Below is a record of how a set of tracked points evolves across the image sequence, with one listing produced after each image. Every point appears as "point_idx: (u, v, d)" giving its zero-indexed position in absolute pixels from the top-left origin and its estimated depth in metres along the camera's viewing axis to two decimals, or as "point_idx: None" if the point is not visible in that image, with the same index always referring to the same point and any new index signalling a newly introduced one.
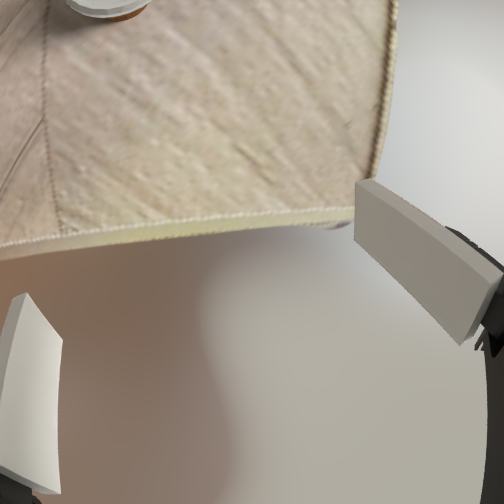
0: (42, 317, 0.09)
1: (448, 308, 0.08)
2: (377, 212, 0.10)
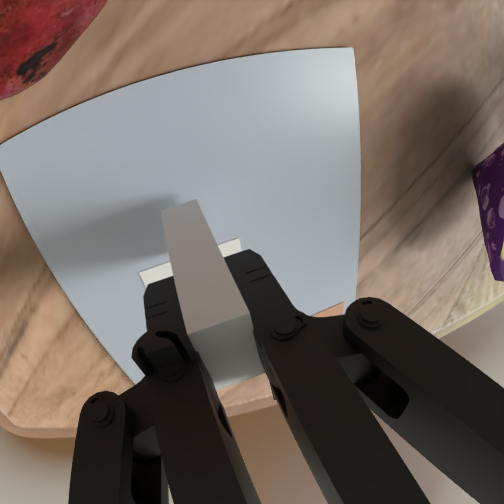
0: None
1: None
2: None
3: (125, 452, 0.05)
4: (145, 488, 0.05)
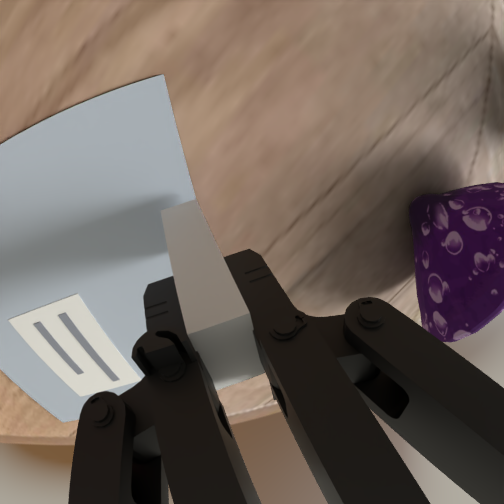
0: None
1: None
2: None
3: (125, 452, 0.05)
4: (145, 488, 0.05)
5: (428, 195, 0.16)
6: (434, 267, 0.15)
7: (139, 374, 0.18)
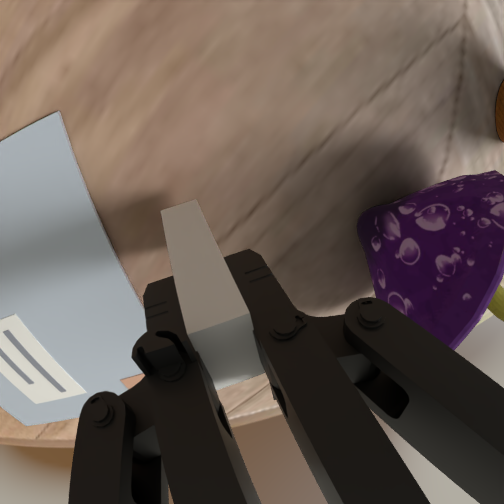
0: None
1: None
2: None
3: (125, 452, 0.05)
4: (145, 488, 0.05)
5: (376, 207, 0.16)
6: (392, 285, 0.14)
7: (83, 387, 0.17)
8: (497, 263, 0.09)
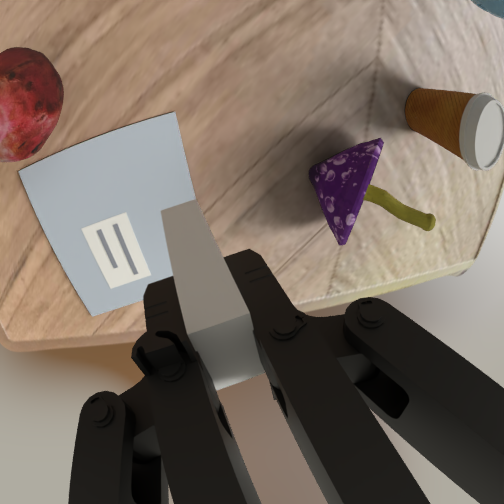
0: None
1: None
2: None
3: (125, 452, 0.05)
4: (145, 488, 0.05)
5: None
6: (325, 193, 0.30)
7: (150, 270, 0.33)
8: (367, 168, 0.25)
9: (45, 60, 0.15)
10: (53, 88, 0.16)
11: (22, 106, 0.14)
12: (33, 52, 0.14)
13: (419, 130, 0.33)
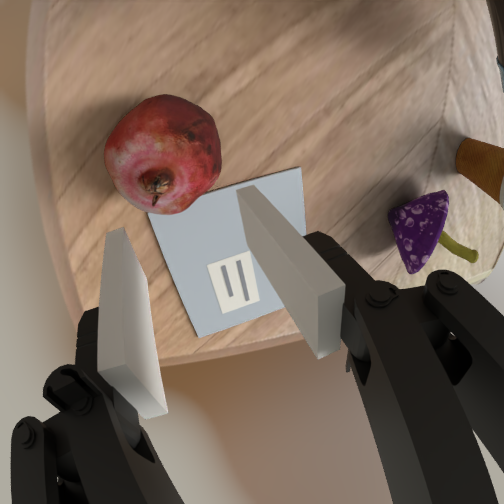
0: (134, 253, 0.12)
1: (302, 318, 0.09)
2: (249, 218, 0.11)
3: (48, 468, 0.04)
4: None
5: (395, 207, 0.38)
6: (404, 235, 0.36)
7: (260, 296, 0.39)
8: (440, 221, 0.31)
9: (212, 119, 0.21)
10: (219, 148, 0.23)
11: (203, 169, 0.20)
12: (197, 108, 0.20)
13: (466, 175, 0.38)
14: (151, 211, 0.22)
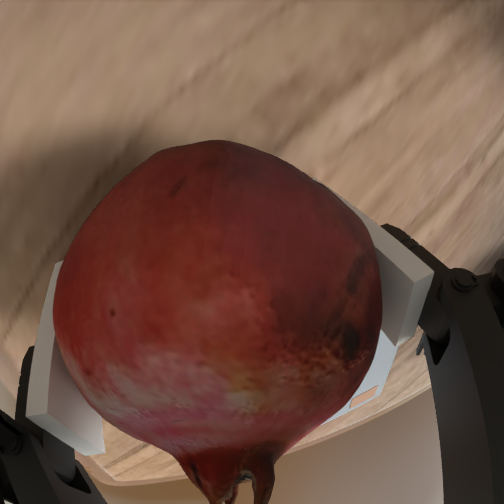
0: None
1: None
2: None
3: None
4: None
5: None
6: None
7: None
8: None
9: (370, 237, 0.07)
10: None
11: None
12: (338, 203, 0.07)
13: None
14: None
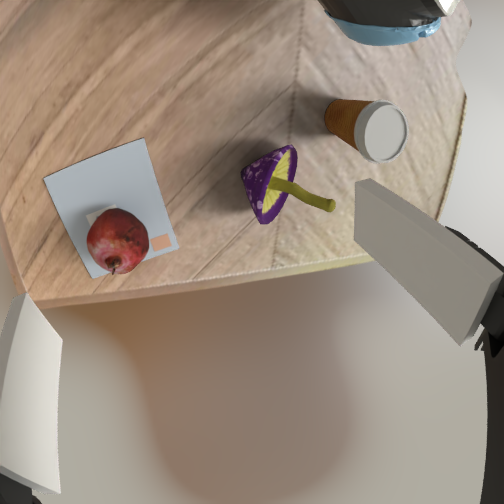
0: (42, 317, 0.09)
1: (448, 308, 0.08)
2: (377, 212, 0.10)
3: None
4: None
5: None
6: (247, 187, 0.43)
7: None
8: (269, 168, 0.39)
9: (140, 224, 0.40)
10: (146, 237, 0.41)
11: (136, 253, 0.39)
12: (131, 218, 0.39)
13: (335, 134, 0.46)
14: (113, 273, 0.41)
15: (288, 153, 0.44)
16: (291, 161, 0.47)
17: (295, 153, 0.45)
